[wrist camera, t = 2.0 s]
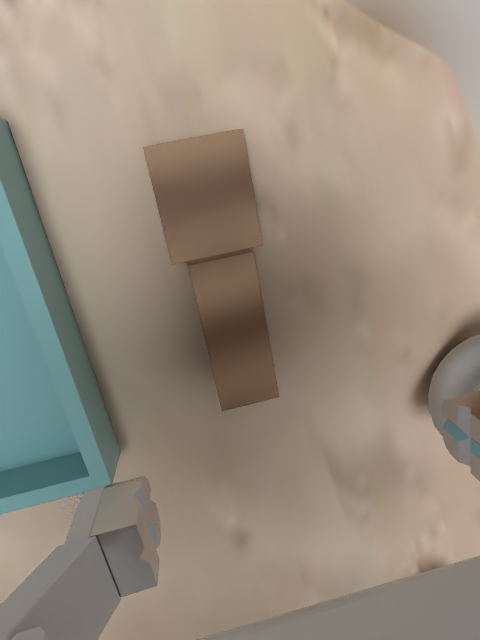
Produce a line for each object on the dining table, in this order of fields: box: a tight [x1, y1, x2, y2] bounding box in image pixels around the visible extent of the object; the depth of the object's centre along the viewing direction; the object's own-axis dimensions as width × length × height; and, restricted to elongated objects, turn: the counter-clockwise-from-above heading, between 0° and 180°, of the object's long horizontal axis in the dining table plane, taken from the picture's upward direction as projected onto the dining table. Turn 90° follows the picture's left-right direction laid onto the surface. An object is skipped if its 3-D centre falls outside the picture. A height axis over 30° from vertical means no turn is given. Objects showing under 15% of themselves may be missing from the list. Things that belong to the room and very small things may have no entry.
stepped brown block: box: [143, 129, 279, 411], centre depth 25 cm, size 17×6×5 cm, turn 11°
